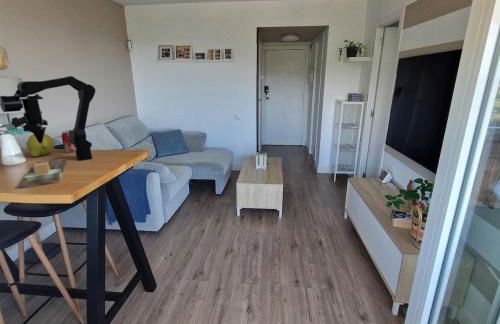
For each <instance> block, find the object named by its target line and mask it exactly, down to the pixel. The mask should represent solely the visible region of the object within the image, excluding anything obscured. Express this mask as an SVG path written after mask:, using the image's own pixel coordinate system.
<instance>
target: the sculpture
mask: <svg viewBox="0 0 500 324" xmlns="http://www.w3.org/2000/svg"><path fill="white" fill-rule="evenodd" d="M25 147H26V148H27V150H28V151H29V155H30V156H31V157H35V158H36V157H40V156H41V157H42V156H46V155H49V154H51V153H52V152H53V151H54V149H55V140H54V139H53V137H51V136H50V135H48V134H46V133H45V134H44V138H43V142H42V143H39V142H38V140H37V139H36V137H35V135H34V134H33V133H32V135H31V134H30V136H28V138H27V141H26V143H25Z"/></svg>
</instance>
